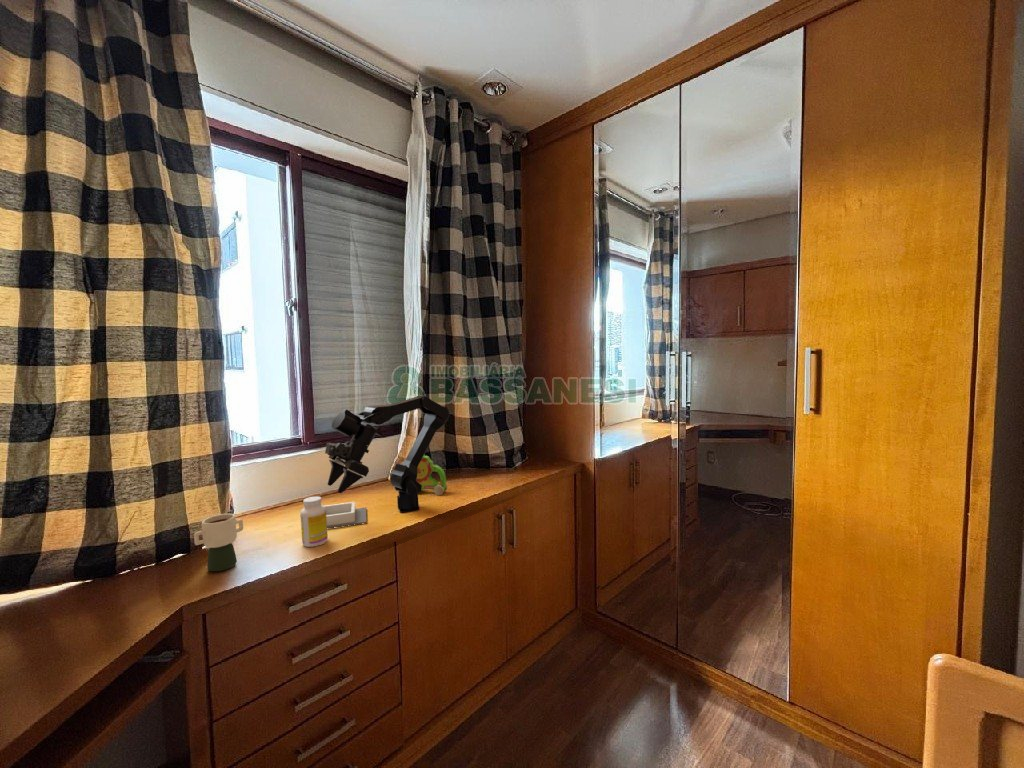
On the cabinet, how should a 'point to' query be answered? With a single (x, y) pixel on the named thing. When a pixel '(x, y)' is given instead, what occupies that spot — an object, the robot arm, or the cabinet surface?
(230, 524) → the white green trophy cup
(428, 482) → the toy lion
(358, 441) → the robot arm
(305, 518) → the supplement bottle
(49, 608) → the cabinet surface
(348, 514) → the holder
